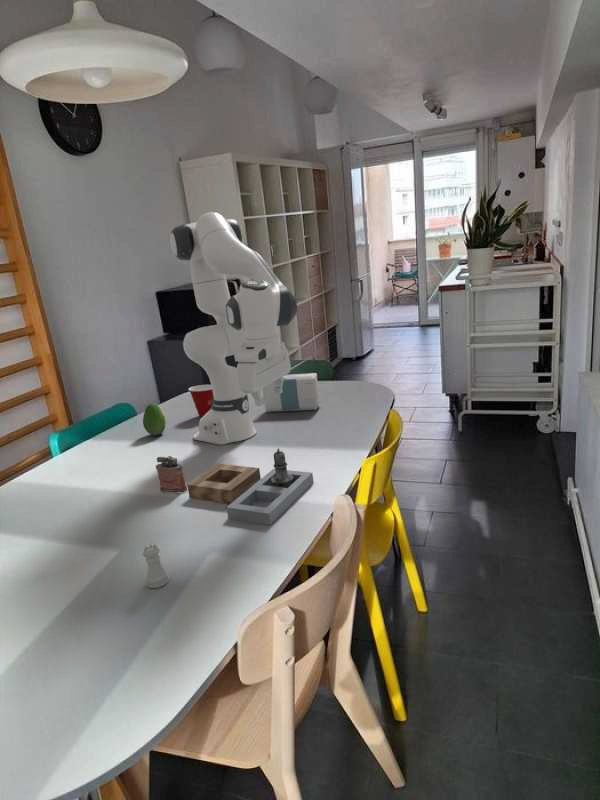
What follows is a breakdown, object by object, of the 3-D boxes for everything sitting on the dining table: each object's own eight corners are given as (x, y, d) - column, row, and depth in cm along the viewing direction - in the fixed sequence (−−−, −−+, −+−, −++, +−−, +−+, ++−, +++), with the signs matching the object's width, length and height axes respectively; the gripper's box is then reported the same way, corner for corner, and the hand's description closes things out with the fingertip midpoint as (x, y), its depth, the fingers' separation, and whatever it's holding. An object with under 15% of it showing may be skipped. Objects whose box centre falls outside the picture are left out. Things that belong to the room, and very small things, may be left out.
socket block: (189, 498, 146) (187, 484, 145) (219, 476, 158) (217, 463, 157) (232, 504, 139) (230, 490, 138) (261, 481, 151) (259, 468, 150)
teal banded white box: (265, 413, 211) (258, 363, 206) (270, 407, 219) (264, 358, 213) (317, 411, 206) (312, 360, 201) (321, 404, 214) (316, 355, 208)
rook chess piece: (148, 577, 112) (141, 543, 110) (170, 574, 112) (163, 540, 110) (144, 591, 108) (136, 555, 105) (167, 587, 108) (159, 552, 106)
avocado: (170, 430, 205) (164, 399, 201) (163, 437, 197) (157, 406, 194) (150, 431, 206) (144, 401, 202) (142, 439, 198) (135, 408, 195)
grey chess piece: (292, 495, 140) (286, 452, 137) (270, 496, 142) (264, 453, 138) (296, 485, 146) (291, 443, 143) (275, 485, 147) (269, 444, 144)
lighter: (189, 488, 152) (183, 454, 150) (183, 493, 149) (176, 459, 147) (164, 486, 155) (158, 454, 152) (158, 492, 152) (151, 459, 149)
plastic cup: (226, 412, 219) (221, 383, 216) (208, 420, 211) (203, 391, 207) (206, 410, 225) (201, 382, 222) (187, 418, 217) (182, 389, 213)
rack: (228, 518, 133) (226, 507, 132) (274, 478, 152) (273, 468, 151) (270, 525, 127) (269, 513, 126) (313, 482, 146) (312, 472, 145)
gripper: (272, 337, 147) (278, 386, 151) (230, 356, 130) (237, 411, 134) (293, 337, 144) (298, 388, 148) (252, 357, 127) (259, 413, 131)
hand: (269, 399), depth 141 cm, fingers open, 8 cm apart
